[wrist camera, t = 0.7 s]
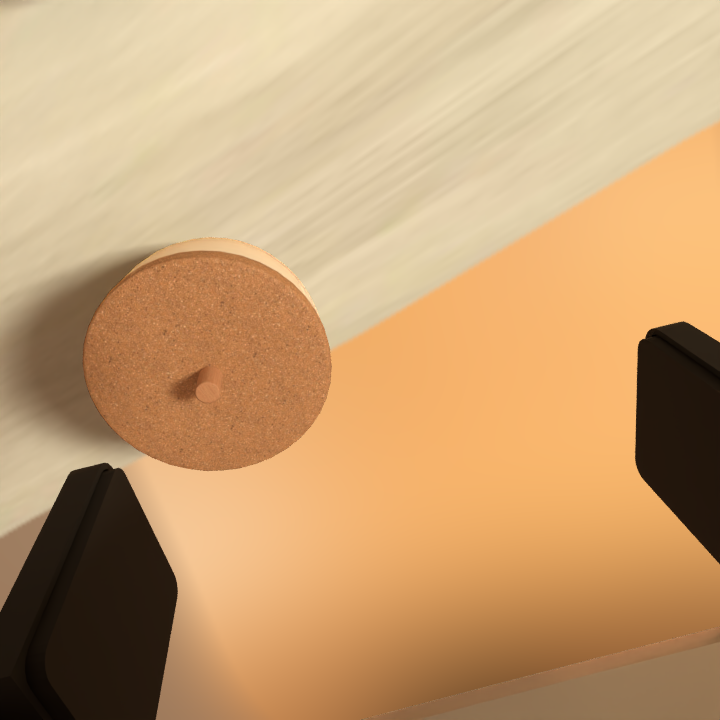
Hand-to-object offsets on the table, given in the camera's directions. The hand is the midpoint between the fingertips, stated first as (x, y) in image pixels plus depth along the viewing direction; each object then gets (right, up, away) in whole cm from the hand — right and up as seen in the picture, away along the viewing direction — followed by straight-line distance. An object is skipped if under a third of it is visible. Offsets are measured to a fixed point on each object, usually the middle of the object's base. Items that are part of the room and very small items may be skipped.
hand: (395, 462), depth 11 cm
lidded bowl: (-10, +5, +28) cm, 30 cm away
